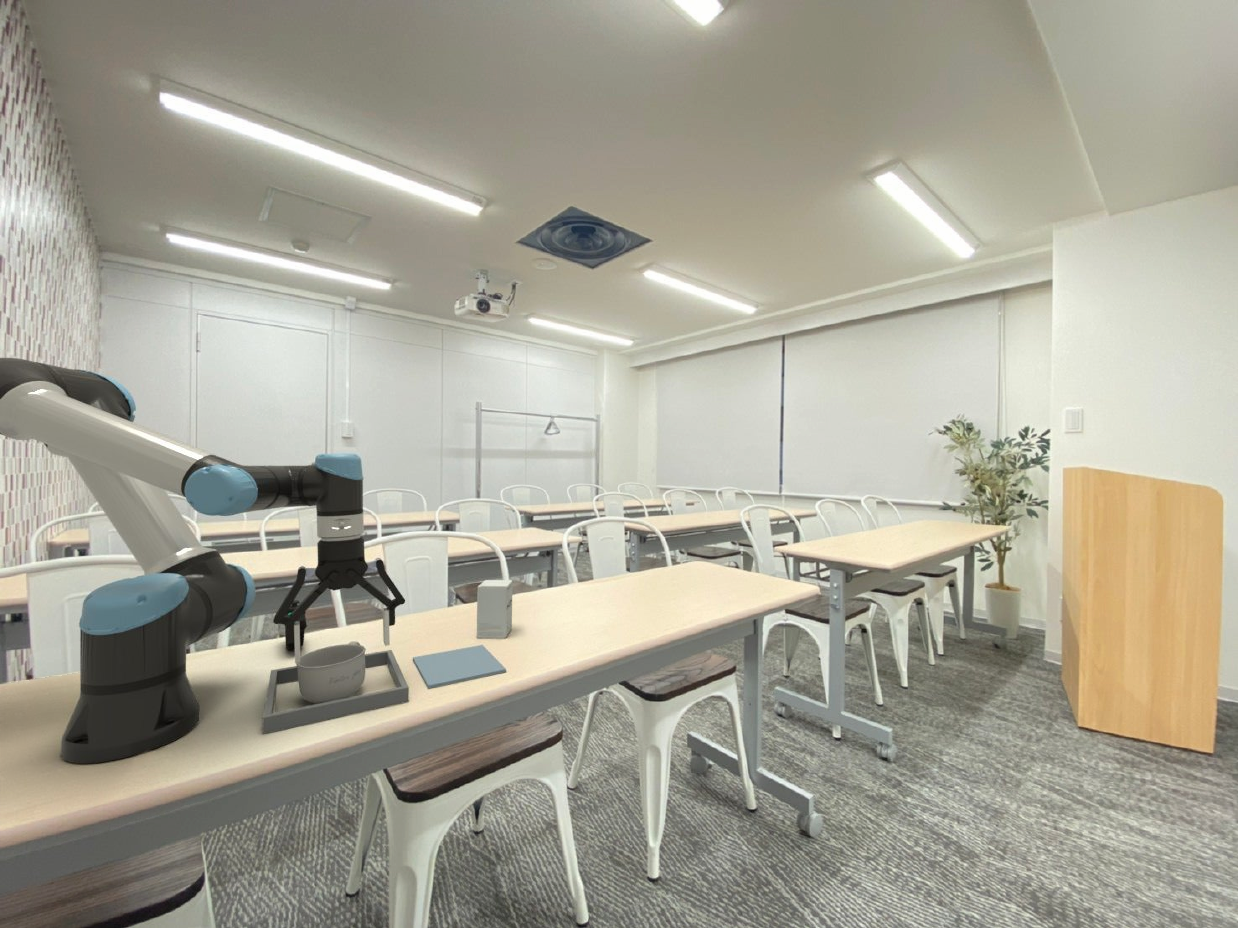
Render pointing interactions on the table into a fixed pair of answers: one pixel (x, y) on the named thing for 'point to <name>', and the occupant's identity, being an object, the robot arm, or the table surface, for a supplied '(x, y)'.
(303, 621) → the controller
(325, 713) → the gray rectangular frame
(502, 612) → the supplement box
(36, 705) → the table surface
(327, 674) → the teacup
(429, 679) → the mat
